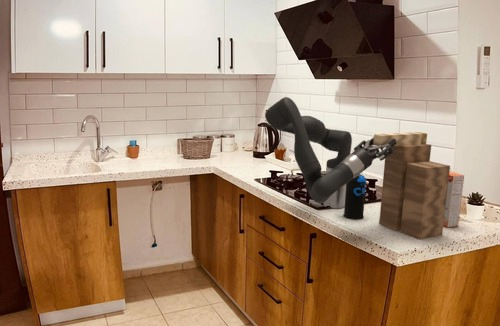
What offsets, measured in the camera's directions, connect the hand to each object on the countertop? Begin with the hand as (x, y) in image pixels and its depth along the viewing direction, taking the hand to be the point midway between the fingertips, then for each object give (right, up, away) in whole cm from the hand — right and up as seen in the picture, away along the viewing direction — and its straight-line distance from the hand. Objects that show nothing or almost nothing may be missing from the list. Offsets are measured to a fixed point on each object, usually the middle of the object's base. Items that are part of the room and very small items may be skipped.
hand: (386, 139), depth 172 cm
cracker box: (+26, -33, +18) cm, 46 cm away
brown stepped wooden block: (+11, -34, +8) cm, 37 cm away
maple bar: (+6, -2, +4) cm, 8 cm away
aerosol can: (-7, -31, +21) cm, 38 cm away
